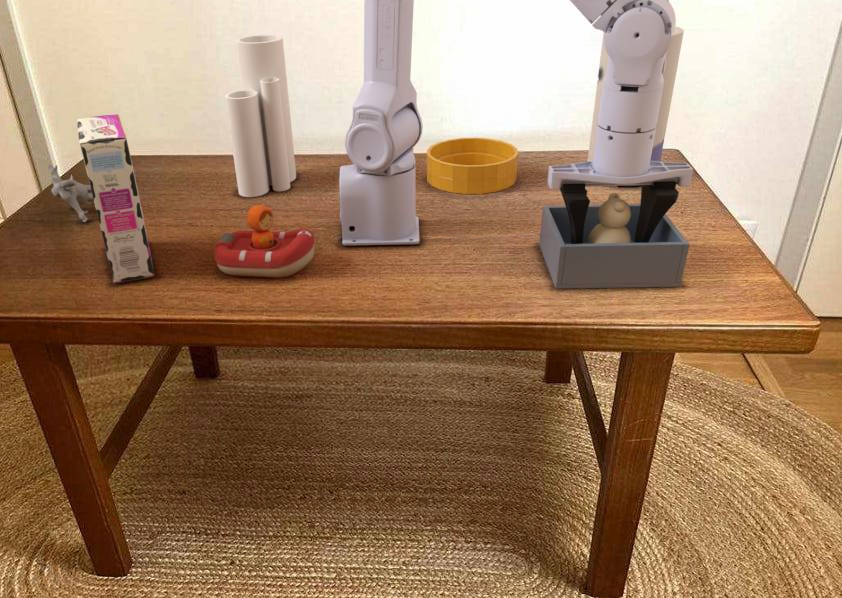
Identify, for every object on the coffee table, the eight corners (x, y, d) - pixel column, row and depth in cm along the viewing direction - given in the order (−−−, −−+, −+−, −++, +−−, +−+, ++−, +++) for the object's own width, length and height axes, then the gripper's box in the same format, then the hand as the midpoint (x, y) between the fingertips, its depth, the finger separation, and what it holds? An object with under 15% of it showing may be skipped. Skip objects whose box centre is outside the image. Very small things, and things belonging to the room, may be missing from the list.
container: (593, 161, 112) (611, 20, 101) (661, 168, 108) (688, 23, 97) (579, 182, 105) (597, 33, 94) (652, 190, 101) (679, 36, 90)
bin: (555, 288, 78) (560, 246, 75) (539, 244, 88) (542, 205, 85) (680, 286, 77) (689, 244, 75) (650, 242, 87) (657, 203, 84)
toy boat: (308, 283, 81) (302, 220, 77) (209, 279, 83) (198, 218, 79) (322, 254, 88) (317, 194, 84) (230, 251, 89) (221, 192, 85)
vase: (261, 170, 115) (244, 34, 104) (304, 172, 113) (292, 34, 102) (233, 196, 105) (211, 50, 95) (279, 198, 104) (263, 50, 93)
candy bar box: (158, 277, 84) (127, 136, 75) (113, 285, 83) (77, 143, 74) (147, 240, 93) (119, 111, 84) (107, 247, 92) (74, 117, 83)
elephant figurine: (133, 207, 104) (83, 207, 96) (111, 234, 106) (60, 236, 98) (96, 153, 105) (44, 149, 97) (75, 181, 108) (23, 179, 100)
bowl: (428, 198, 102) (428, 167, 99) (425, 167, 113) (425, 138, 110) (521, 196, 101) (524, 165, 98) (510, 165, 112) (511, 136, 109)
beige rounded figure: (589, 269, 80) (601, 204, 76) (581, 251, 84) (591, 189, 80) (631, 269, 80) (645, 205, 76) (621, 252, 84) (633, 190, 80)
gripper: (686, 112, 77) (663, 231, 84) (548, 116, 78) (537, 233, 85) (709, 132, 71) (682, 257, 78) (560, 136, 72) (547, 260, 79)
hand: (607, 247), depth 81 cm, fingers open, 6 cm apart
